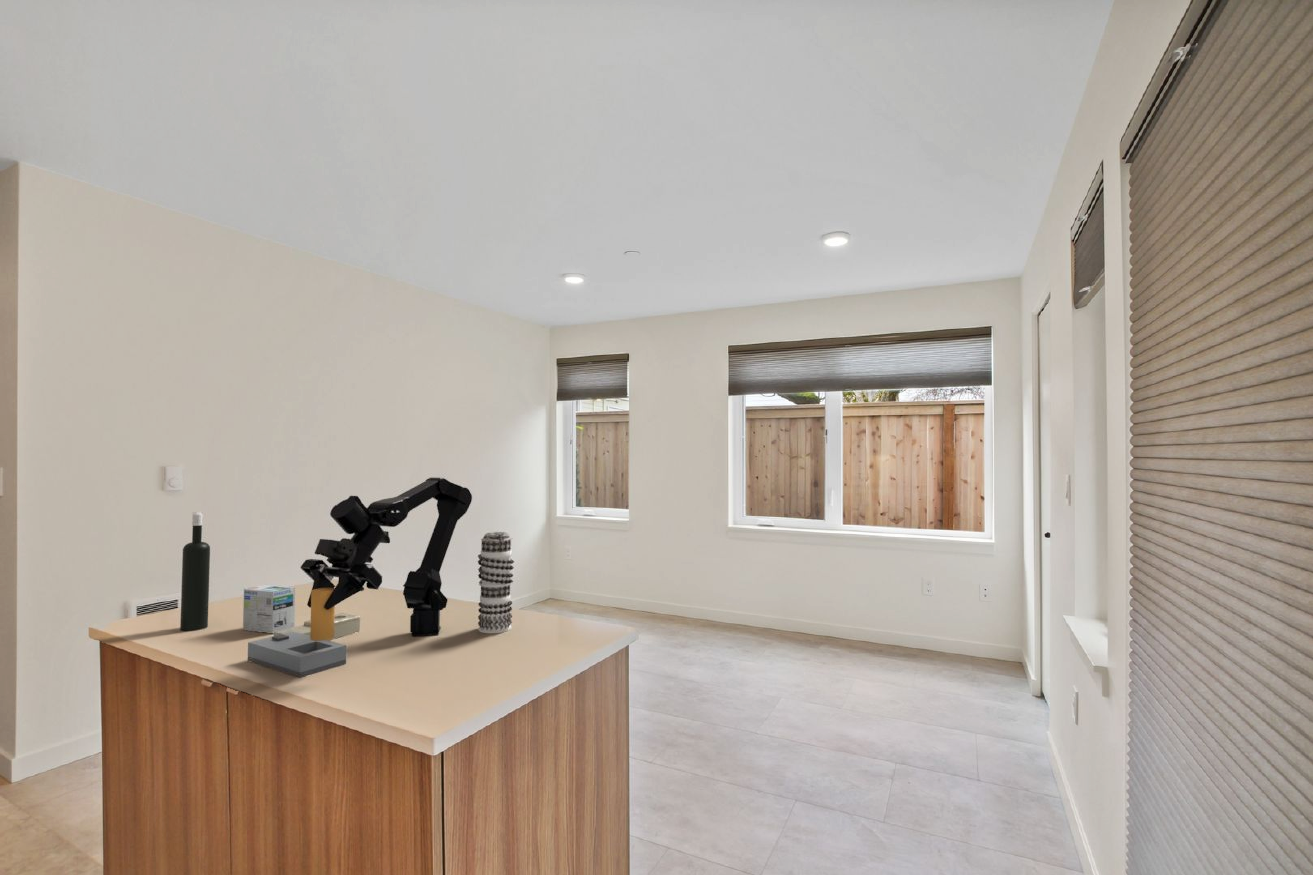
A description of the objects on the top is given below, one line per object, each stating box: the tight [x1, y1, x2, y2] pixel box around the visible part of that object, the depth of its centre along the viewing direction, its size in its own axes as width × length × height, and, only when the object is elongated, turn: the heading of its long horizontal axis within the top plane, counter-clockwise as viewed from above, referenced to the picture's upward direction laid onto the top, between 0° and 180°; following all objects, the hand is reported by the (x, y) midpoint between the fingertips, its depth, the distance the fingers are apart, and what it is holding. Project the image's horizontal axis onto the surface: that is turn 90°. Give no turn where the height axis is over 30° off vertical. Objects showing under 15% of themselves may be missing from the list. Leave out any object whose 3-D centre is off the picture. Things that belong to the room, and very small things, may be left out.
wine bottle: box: [179, 511, 211, 632], centre depth 164 cm, size 6×6×30 cm
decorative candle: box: [477, 531, 515, 634], centre depth 165 cm, size 9×9×25 cm
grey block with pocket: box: [247, 632, 347, 678], centre depth 137 cm, size 20×10×5 cm, turn 60°
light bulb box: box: [242, 584, 296, 634], centre depth 163 cm, size 11×7×11 cm, turn 71°
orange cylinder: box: [310, 587, 336, 641], centre depth 132 cm, size 4×4×10 cm
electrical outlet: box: [273, 612, 361, 641], centre depth 155 cm, size 7×4×18 cm
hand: (317, 607), depth 131 cm, fingers closed on orange cylinder, 4 cm apart
